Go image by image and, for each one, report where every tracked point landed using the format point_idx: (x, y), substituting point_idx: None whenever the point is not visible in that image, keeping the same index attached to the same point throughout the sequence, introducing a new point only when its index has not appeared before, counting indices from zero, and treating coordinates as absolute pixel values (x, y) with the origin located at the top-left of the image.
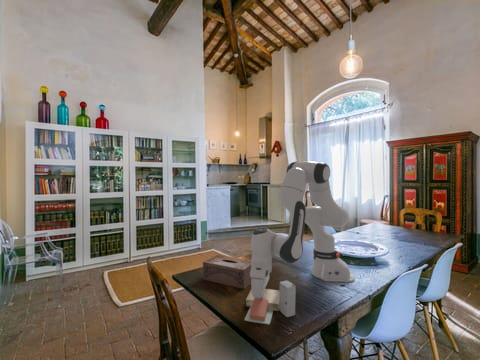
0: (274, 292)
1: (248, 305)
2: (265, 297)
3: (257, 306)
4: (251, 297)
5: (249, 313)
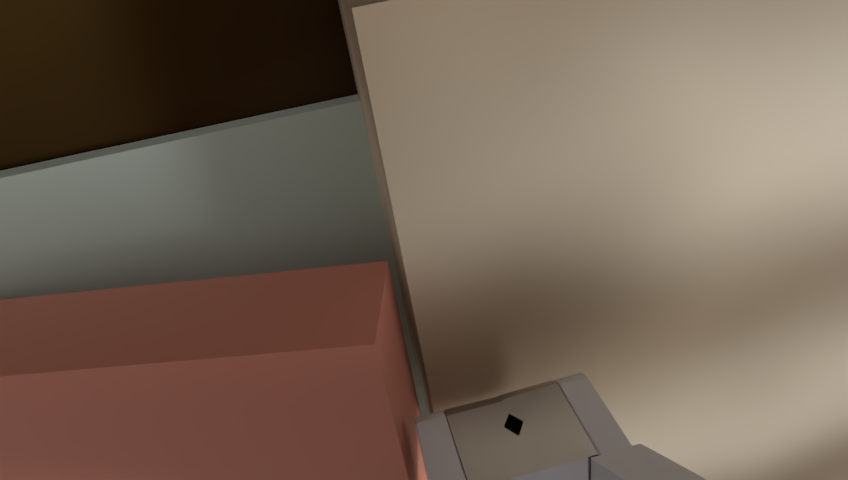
0: (843, 417)
1: (351, 52)
2: (628, 384)
3: (132, 473)
4: (541, 115)
5: (66, 217)
